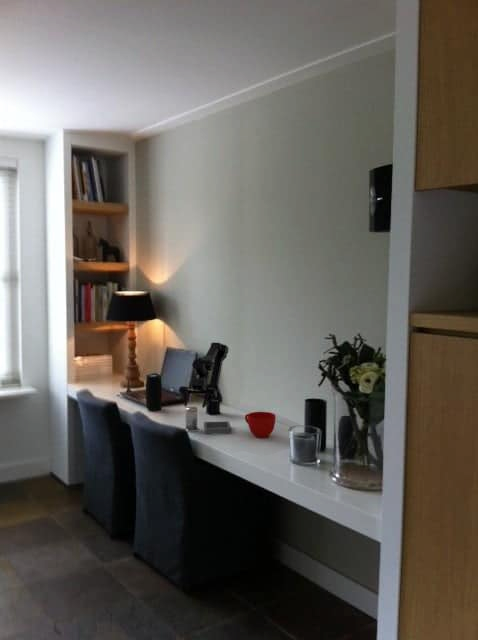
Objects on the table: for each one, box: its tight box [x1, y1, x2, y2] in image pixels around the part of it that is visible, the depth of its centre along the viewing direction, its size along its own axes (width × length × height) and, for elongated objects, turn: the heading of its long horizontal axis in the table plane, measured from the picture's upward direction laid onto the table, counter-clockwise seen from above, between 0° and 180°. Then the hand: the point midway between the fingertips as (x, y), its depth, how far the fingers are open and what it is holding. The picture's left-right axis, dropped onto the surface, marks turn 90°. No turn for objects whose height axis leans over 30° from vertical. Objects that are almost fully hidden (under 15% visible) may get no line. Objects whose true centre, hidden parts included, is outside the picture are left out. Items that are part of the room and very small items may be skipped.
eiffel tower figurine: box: [116, 375, 133, 400], centre depth 369 cm, size 15×10×13 cm
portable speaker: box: [145, 372, 163, 412], centre depth 337 cm, size 9×9×20 cm
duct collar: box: [203, 420, 232, 435], centre depth 297 cm, size 12×12×2 cm
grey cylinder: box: [184, 406, 200, 433], centre depth 297 cm, size 7×7×11 cm
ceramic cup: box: [244, 411, 276, 439], centre depth 289 cm, size 13×17×10 cm
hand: (193, 406), depth 300 cm, fingers open, 9 cm apart
